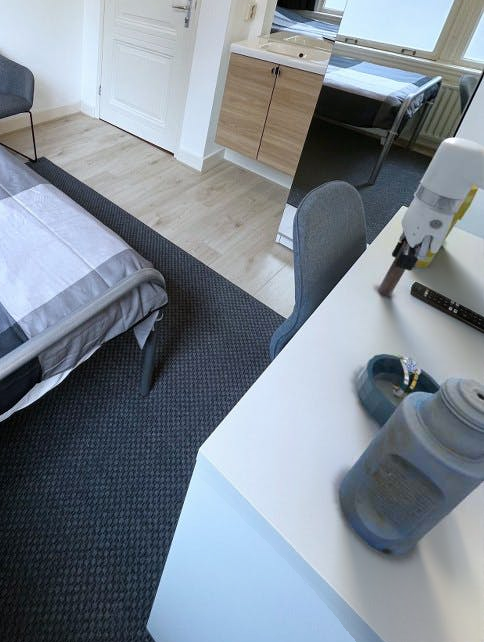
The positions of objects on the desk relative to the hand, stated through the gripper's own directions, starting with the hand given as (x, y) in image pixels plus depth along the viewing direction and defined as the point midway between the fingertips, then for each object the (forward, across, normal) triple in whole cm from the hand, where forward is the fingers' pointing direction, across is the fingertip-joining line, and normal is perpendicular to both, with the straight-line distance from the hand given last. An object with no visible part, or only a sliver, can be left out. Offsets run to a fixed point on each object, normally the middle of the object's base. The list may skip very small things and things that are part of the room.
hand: (401, 262), depth 95 cm
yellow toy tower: (+11, +24, -13) cm, 29 cm away
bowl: (+11, -30, +3) cm, 32 cm away
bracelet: (+10, -26, +2) cm, 28 cm away
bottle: (+11, -50, +9) cm, 52 cm away
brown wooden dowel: (+10, 0, 0) cm, 10 cm away
